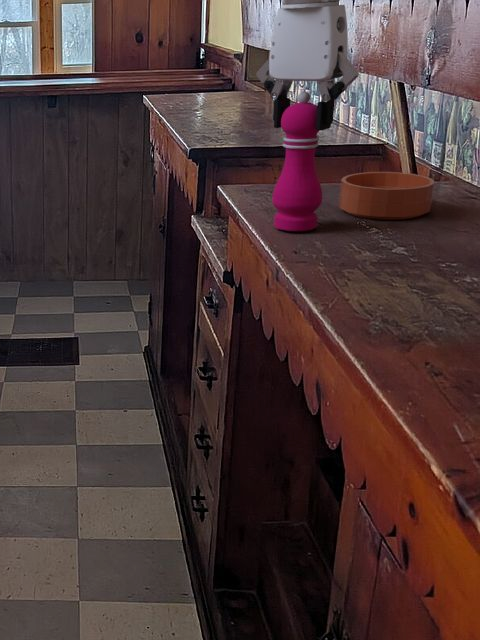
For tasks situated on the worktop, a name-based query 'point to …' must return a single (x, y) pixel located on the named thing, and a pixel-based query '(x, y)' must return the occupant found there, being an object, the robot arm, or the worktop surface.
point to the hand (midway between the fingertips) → (301, 126)
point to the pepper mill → (298, 169)
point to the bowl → (386, 195)
